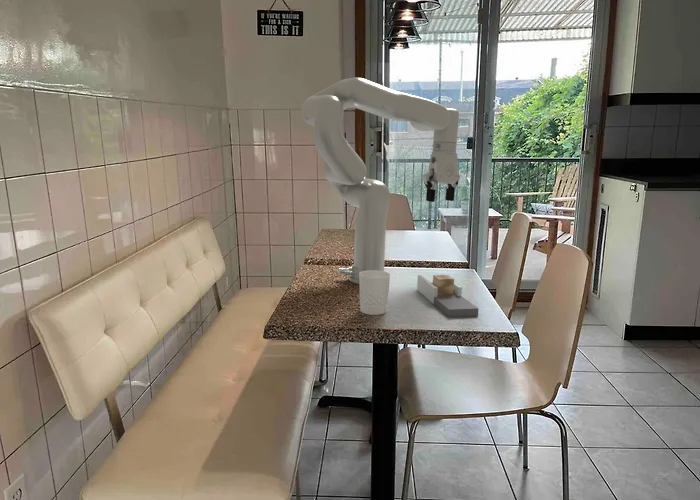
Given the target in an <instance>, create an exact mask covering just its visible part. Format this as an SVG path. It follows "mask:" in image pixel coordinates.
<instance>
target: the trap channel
mask: <svg viewBox="0 0 700 500" xmlns="http://www.w3.org/2000/svg"><path fill="white" fill-rule="evenodd" d="M462 289H463V288H462V286H461V285H459V284H458V283H456V282H455V281H454V290H453V295H437V294H438V288H437V287H436V286H435V285H433V282H431V281H429V280H428V279H427V278H425V277H424V275H421V274H420V275H419V274H418V275H417V282H416V291H418V292H419V293H420V294H421V295H423V296H424V297H425V298H426V299H427V300H428V301H429V302H431V304H433V305H434V306H435V307H436V308H437V309H438V310H439V311H441V312H442V313H443V314H445V316H446V317H448V318H456V317H457V318H459V317H478V316H479V307H477V306H476V305H474V304H473V303H471V302H470V301H469V300H468V299H466V298H464V297H463V294H462V291H463V290H462Z"/></svg>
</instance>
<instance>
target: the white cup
mask: <svg viewBox="0 0 700 500" xmlns="http://www.w3.org/2000/svg"><path fill="white" fill-rule="evenodd" d="M390 278H391V273H389V272H387V271H385V270H384V271H378V270H367V271H362V272H360V273H359V284H358V286H359V288H358V289H359V292H358V293H359V301H360V302H359V304H360V305H359V307H360V310H359V311H360V313H362V314H365V315H368V316H381V315H384V314H386V312H387V305H388V299H389V292H390V291H389V290H390V281H391V280H390Z"/></svg>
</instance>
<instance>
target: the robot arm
mask: <svg viewBox="0 0 700 500" xmlns="http://www.w3.org/2000/svg"><path fill="white" fill-rule="evenodd" d="M347 109H357V110H361V111H363V112H367V113H369V114H373V115H375V116H378V117H380V118H383V119H385V120H392V121H404V122H409V123H410V125H411V126H412V128H414V129H415V130H417V131H421V132H422V131H423V132H424V131H425V132H426V131H427V132H431V131H433V137H432V140H433V141H432V142H433V143H432V151H431V154H430V157H429V163H428V164H429V165H428V171H427V172H426V173H424V174H423V176H422V179H423V183H424V185H425V189H426V197H425V201H426V202H431V203H432V202H433V203H435V201H436V189H435V188H436V187H437V185H438V184H441V185H442V184H444V185H445V184H446V186H447V187H446V190H445V201H449V202H454V201H455V192H456V191H455V190H456V189H457V186H458V184H459V181H460V179H461V175H460V174H459V159H458V158H459V157H458V153H457V143H458V132H459V121H460V120H459V119H460V112H459V110H458V109H455V108H450V107H449V108H447V107H446V106H445V105H443V104H440V103H439V102H435V101H433V100H431V99H427V98H424V97H420V96H417V95H412V94H409V93H406V92H402V91H398V90H395V89H391V88H389V87H386V86H383V85H381V84H379V83H376V82H373V81H371V80H368V79H366V78H362V77H350V78H344V79H341V80H338V81H337V82H335V83H333V84H332V85H330V86H327V87H326V88H323V90H320V91H319V92H317V93H314V94H313V95H311V96H309V97H308V98H306V99H305V101H304V102H303V103H302V105H301V107H300V115H301V119H302V120H303V121H304V122H305V123H306V124H308V125H309V126H313V142H314V146H315V148H316V150H317V152H318V154H319V155H320V156H321V158H322V159H323V160H324V161H323V164H322V171H323V175H324V176H325V178H326V179H325V180H326V181H328V183H329V184H330V185H331V187H333V189H334V190H335V192H336V193H337V194H338V195H339V196H340V197H341V198H342V199H343V200H344V201H345V202H346V203H347V204H348V205H349V206H351V207H354V208H358V211H357V215H356V216H355V222H354V247H353V248H354V249H353V250H354V254H353V264H351V266H349V267H348V268H346V267H339V268H338V274H339V275H343V276H348V281H350V282H351V283H353V284H357V285H359V273H360V272H362V271H367V270H378V271H384V272H385V258H386V256H385V255H386V253H385V252H386V234H387V233H386V230H387V227H386V226H387V216H388V211H389V207H390V202H391V192H390V189H389V188H388V186H387V185H386V184H385V183H384V182H383V181H381V180H378V179H373V178H366V177H367V166H366V164H365V162H364V161H363V159H362V158H361V156H360V155H359V154H358V153H357V152H356V151H355V149H354V148H353V147H352V146H351V145H350V143H349V142H348V141H347V139H346V137H345V136H344V134H343V130H342V123H343V119H344V111H345V110H347Z"/></svg>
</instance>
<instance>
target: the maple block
mask: <svg viewBox="0 0 700 500" xmlns="http://www.w3.org/2000/svg"><path fill="white" fill-rule="evenodd" d="M454 282H455V278H453V277H452V276H451V275H449V274H437V275H436V274H432V283H433V285H435V286H436V287H437V288H438V294H437V295H453V290H454Z"/></svg>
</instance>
